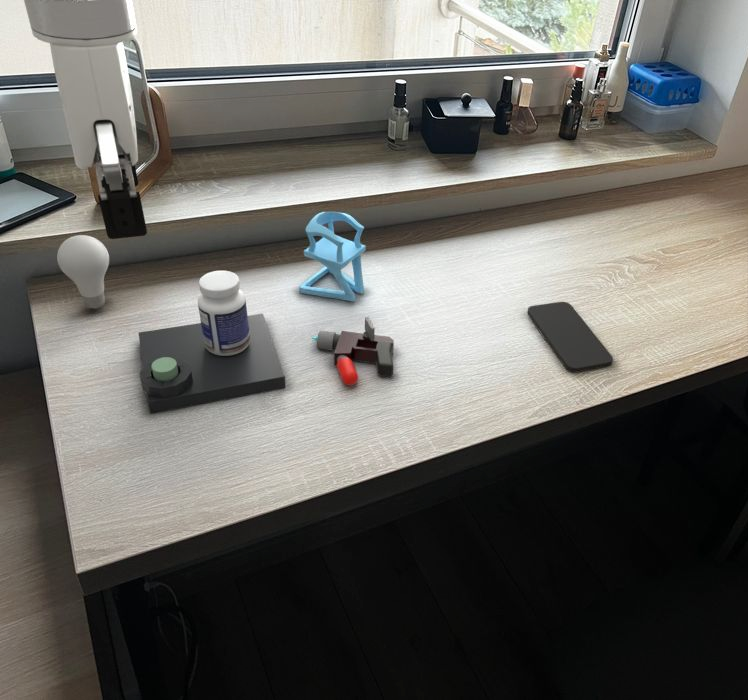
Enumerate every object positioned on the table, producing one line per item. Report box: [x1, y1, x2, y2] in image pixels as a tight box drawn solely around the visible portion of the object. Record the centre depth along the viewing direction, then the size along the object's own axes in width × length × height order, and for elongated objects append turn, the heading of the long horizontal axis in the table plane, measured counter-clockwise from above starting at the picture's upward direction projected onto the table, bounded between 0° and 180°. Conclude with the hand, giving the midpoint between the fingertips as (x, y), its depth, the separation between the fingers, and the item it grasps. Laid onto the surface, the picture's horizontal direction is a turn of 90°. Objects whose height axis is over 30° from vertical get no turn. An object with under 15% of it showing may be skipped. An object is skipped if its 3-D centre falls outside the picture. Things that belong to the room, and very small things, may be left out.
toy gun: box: [311, 316, 395, 386], centre depth 95 cm, size 10×12×5 cm
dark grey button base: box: [138, 313, 287, 415], centre depth 92 cm, size 16×14×4 cm
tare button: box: [152, 357, 178, 381], centre depth 86 cm, size 3×3×2 cm
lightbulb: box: [56, 234, 110, 310], centre depth 97 cm, size 6×6×11 cm
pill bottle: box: [197, 270, 250, 356], centre depth 91 cm, size 6×6×10 cm
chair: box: [298, 211, 367, 303], centre depth 106 cm, size 8×8×12 cm
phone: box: [526, 301, 614, 373], centre depth 106 cm, size 7×1×15 cm
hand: (124, 209), depth 67 cm, fingers open, 9 cm apart
